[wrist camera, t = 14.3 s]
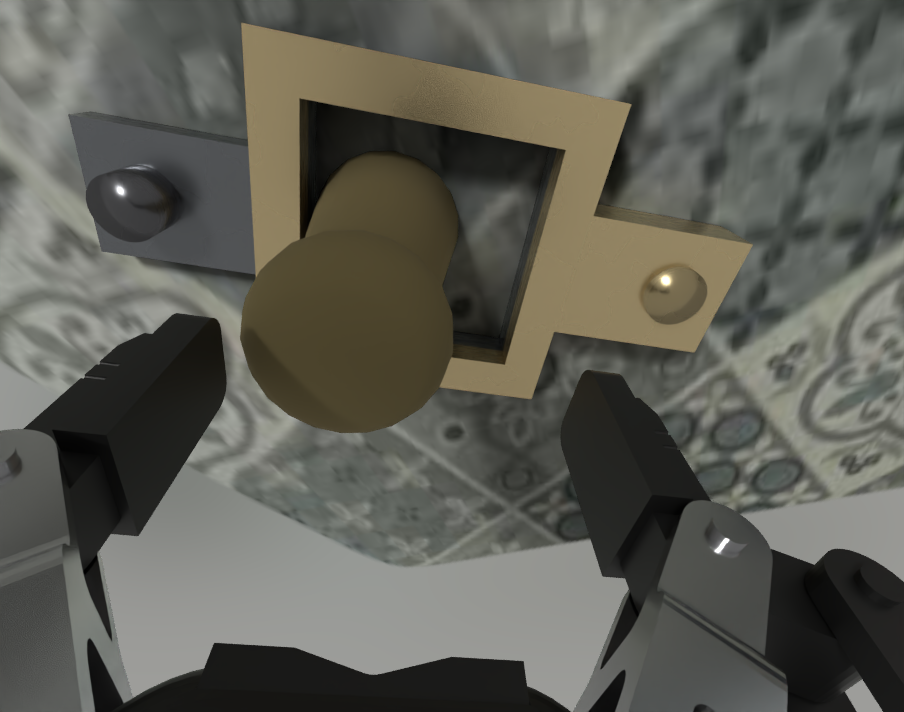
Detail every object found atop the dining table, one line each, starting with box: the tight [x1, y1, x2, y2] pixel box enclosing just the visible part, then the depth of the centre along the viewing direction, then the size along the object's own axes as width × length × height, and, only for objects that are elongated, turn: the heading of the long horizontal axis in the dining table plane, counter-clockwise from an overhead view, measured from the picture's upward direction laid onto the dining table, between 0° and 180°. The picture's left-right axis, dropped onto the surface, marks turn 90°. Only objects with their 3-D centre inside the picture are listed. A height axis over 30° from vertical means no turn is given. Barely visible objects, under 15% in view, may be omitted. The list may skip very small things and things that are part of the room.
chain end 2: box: [241, 23, 753, 399], centre depth 19 cm, size 12×19×3 cm, turn 80°
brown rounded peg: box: [240, 151, 458, 433], centre depth 15 cm, size 6×6×11 cm
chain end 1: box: [68, 100, 558, 351], centre depth 18 cm, size 12×19×3 cm, turn 80°
